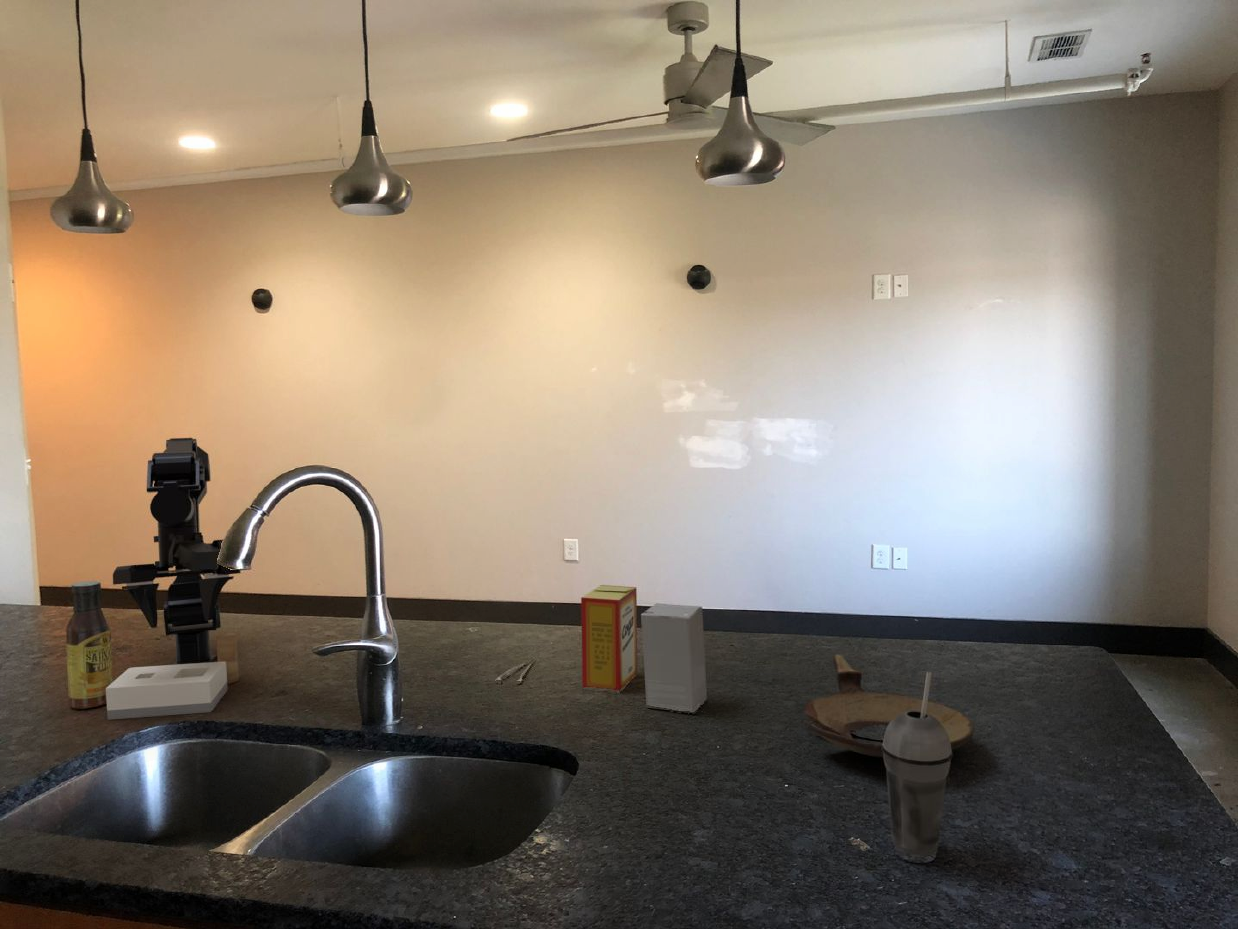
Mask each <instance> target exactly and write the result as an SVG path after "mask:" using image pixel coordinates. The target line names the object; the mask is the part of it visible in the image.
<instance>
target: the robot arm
mask: <svg viewBox="0 0 1238 929" xmlns="http://www.w3.org/2000/svg"><path fill="white" fill-rule="evenodd" d="M146 472H147V474H146V493H148V494H151V493H156V494H155V495H154V496H152V499H151V501H150V504H149V508H150V509H149V510H150V514H151V515H152V517H153V518H154V519H155V521H157V535H154V536H153V542H154V543H158V560H155V561H154V563H143V564H129V565H122V566H121V565H120V566H117V567H116V568H115V569H114V571H113V573H112V585H123V586H121V590H127V591H128V593H129V594H130V595H131V597H132V598H133V599H134V601H135V602H136V604H137V606H138V607H139V609H140V610H141V612H142V614H143V616H144V618H145V620H146V621H147V623H148V625H149V627H150V628H151V629H155V628H156V629H157V627H158V619H159V618H158V609H157V608H158V606H157V604H158V603H157V592H158V589H159V587H160V583H158V582H157V583H154V580H156V579H161V578H170V577H171V578H172V577H173V578H174V577H175V579H174V580H173V582H172V583H170V584H169V587H168V588H167V591H166V592H167V598H166V602H163V619H164V620H163V622H164V629H165V636H166V637H168V636H172V635H174V638H175V639H174V641H175V653H176V654H175V655H176V656H175V658H176V660H174V661H173V663H171V664H170V665H179V664H194V663H209V662H214V660H215V658H216V657H217V652H215V653H214V652H213V653H212V652H211V641H210V637H211V636H210V631H217V629H219V628H222V627H221V626H222V625H221V624H222V623H221V614H220V613H221V612H220V605H219V604H218V603H217V602H218V599H219V597H220V594H221V591H222V590H223V587H224V586H225V585H226V584H227V582H228V581H230V580H233V579H234V577H235V576H234V574H235V575H236V574H241V572H242V571H241V569H240V570H230V569H228V568H226V567H223V566H221V565H219V564H217V558H218V555H219V552H220V549H221V543H222V541H223V540H224V539H213V541H212V542H210V543H209V542H208V543H206V542H204V535H203V532H200V531H201V530H200V529H201V528H200V504H201V502H202V501H203V499H204V498H205V497H206V495H207V493H208V482H211V464H210V458H209V454H208V453H207V451H205V450H203V448H201V447H200V446H199V445H198V442H197V438H193V437H175V438H173V437H172V438H169V439H166V440H165V449H164V451H163V452H154V453H153V454H152V457H151V460H150V459H149V460H148V461H147V470H146ZM171 569H173V570H171ZM202 575H203V577H202ZM230 575H231V576H230ZM232 575H233V576H232ZM124 584H125V585H124Z"/></svg>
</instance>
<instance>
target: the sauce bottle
mask: <svg viewBox="0 0 1238 929" xmlns="http://www.w3.org/2000/svg"><path fill="white" fill-rule="evenodd" d="M70 589H71V594H72V595H73V608H72V610H73V614H72V616H71V617H70V619H69V621H68V623H67V625H66V628H65V629H66V630H65V631H66V632H65V634H66V643H65V646H66V647H65V648H66V651H65V652H66V667H67V668H66V670H67V671H66V672H67V690H68V697H69V706H70V707H71V708H73V709H80V710H86V709H87V710H88V709H92V708H96V707H100V706H103V705H107V701H106V688H107V687H108V686H109V685H110V684H111V683H112V682H114V677H113V673H114V672H113V657H112V656H113V654H112V652H113V651H112V632H111V629H110V627H109V625H108V622H107V620H106V617H105V615H104V612H103V610H102V604H101V590H102V586H101V582H100V581H97V580H93V581H92V580H91V581H89V580H88V581H82V582H76V583H72V584H71V588H70Z"/></svg>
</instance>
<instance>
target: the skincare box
mask: <svg viewBox="0 0 1238 929" xmlns="http://www.w3.org/2000/svg"><path fill="white" fill-rule="evenodd" d="M640 618H641V619H640V620H641V621H640V622H641V634H642V636H641V637H642V652H643V663H644V664H643V666H644V667H643V668H644V686H645V687H644V688H645V701H646V702H645V703H646V704H645V705H646V706H647V705H650V706H654V707H661V708H667V709H672V710H678V711H690V712H695V711H696V710H697V709H698V708H699V707H701V706H700V705H702V706H703V704H705V703H704V701H705V700H706V701H707V700H708V699H707V698H708V694H707V693H708V691H707V672H706V655H705V654H706V652H705V637H704V636H705V635H704V619H703V618H704V617H703V606H699V605H685V604H684V605H683V604H682V605H681V604H668V603H667V604H666V603H654V605H652V606H651V607H649V608H647V609H646V610H645V611H644V612H642V613H641V614H640ZM698 710H699V709H698ZM698 710H697V711H698ZM697 711H696V712H697ZM696 712H695V713H696Z"/></svg>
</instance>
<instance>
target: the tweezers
mask: <svg viewBox="0 0 1238 929" xmlns="http://www.w3.org/2000/svg"><path fill="white" fill-rule="evenodd" d="M529 661H530V660H529ZM529 661H527V662H529ZM525 663H526V662H523V663H521V664H519V665H516V666H514V667H512V668H510V669H508V670H506V671H505V672H503V673H502V674H500V676H498V677H497V678H495V681H496V680H501V677H505V676H506V675H509V674H510V673H511V672H513V670H515V669H518V668H519V667H521V666H523V665H524V664H525ZM530 665H531V663H529V664H528V665H527V668H526V669H525V670H524V671H522V673H521V674H520V675H519V679H518V680H516V681H520V682H521V681H522V682H523V679H522V676H523V675H524V674H525V673H526V671H527V670H528V669H529V667H530ZM529 670H530V669H529ZM529 670H528V671H529ZM526 674H527V673H526ZM526 674H525V675H526ZM504 675H505V676H504ZM522 682H521V683H522Z"/></svg>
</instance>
